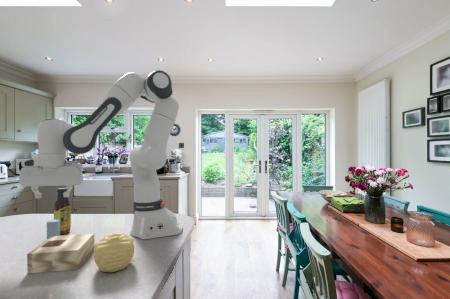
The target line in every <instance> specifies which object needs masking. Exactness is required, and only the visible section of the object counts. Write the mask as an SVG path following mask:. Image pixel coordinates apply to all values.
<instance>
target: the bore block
mask: <svg viewBox="0 0 450 299" xmlns="http://www.w3.org/2000/svg"><path fill="white" fill-rule="evenodd" d="M94 245H95V233H83V234H82V233H80V234H68V235H66V234H63V235H60V236H52V237H50V238H49V239H48V240H47V239H46V240H45V241H43V242H42V243H40V244H39V245H38V246H36V247H35V248H34V249H31V251H29V252H28V253H27V254H26V255H27V256H26V258H27V259H26V263H27V264H26V267H27V268H26V271H27V272H26V273H27V274H36V273H48V272H59V271H61V272H62V271H68V270H69V271H70V270H79V269H80V268H81V267H82V265H83V264H84V263H85V261H87V259H88V258H89V257H90V256H91V254H92V253H93V252H95V247H94Z"/></svg>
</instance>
